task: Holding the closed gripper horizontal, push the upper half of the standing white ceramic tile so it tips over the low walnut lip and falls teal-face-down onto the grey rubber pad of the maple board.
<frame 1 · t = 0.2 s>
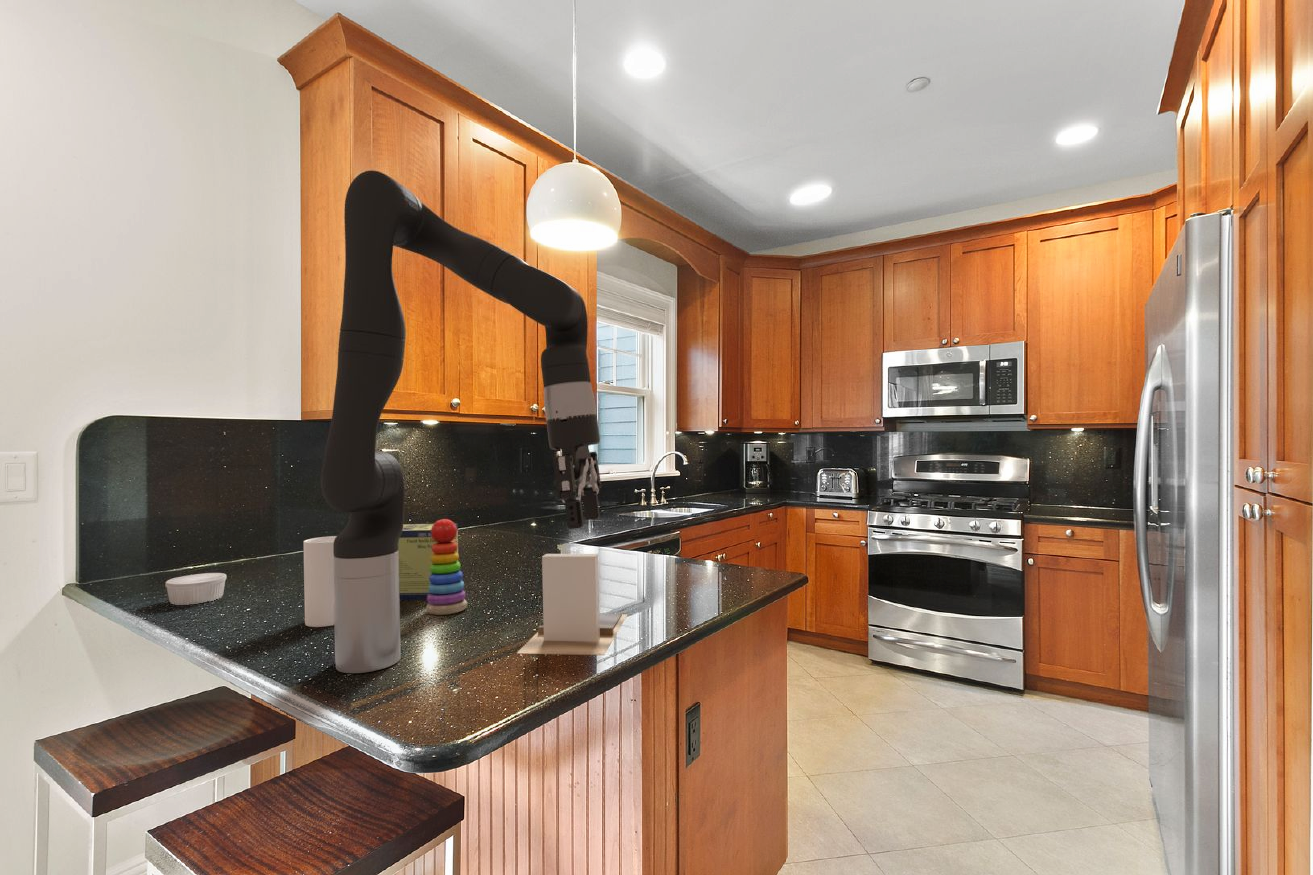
hand: (584, 523, 91), 22 cm above the countertop, tool pointing down, fingers open, 8 cm apart
ramekin: (197, 602, 139), on the countertop
stacking toy: (447, 611, 125), on the countertop
tile: (572, 638, 103), point 1 cm above the countertop, touching board
board: (577, 637, 106), on the countertop
protein box: (419, 595, 140), on the countertop
cup: (329, 621, 120), on the countertop
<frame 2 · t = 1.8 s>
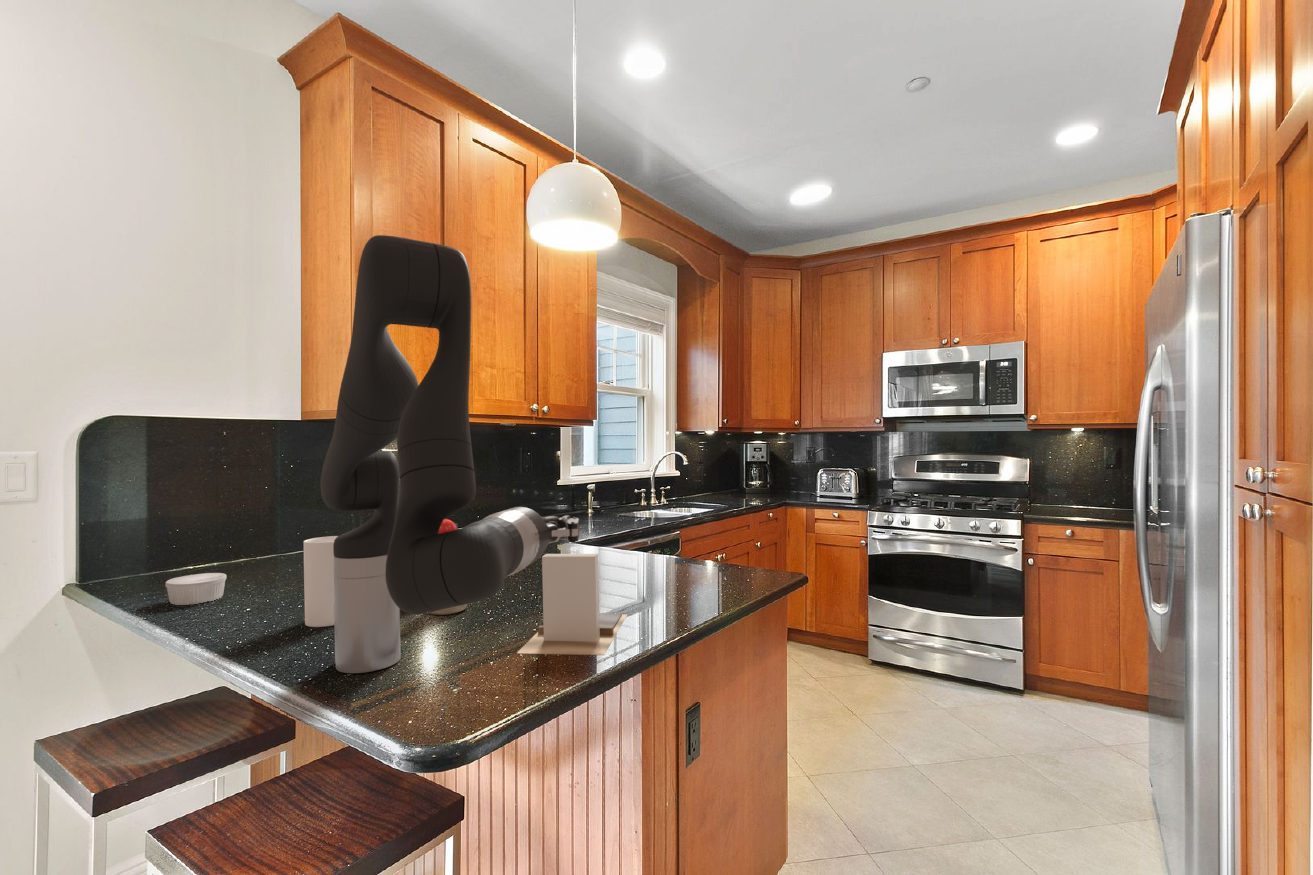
hand: (548, 522, 91), 22 cm above the countertop, tool horizontal, fingers open, 5 cm apart
nothing on the countertop moved.
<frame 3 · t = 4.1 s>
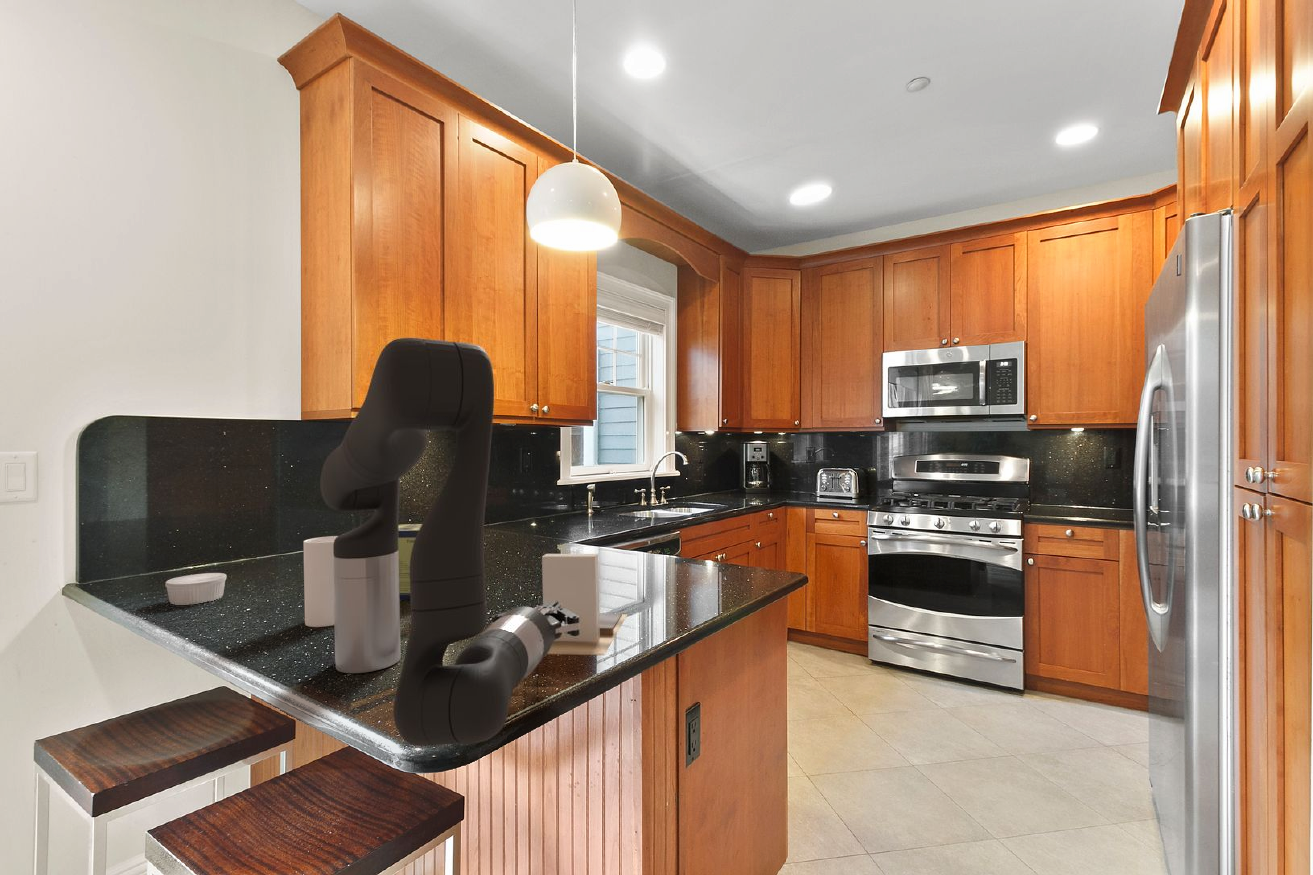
hand: (553, 607, 92), 9 cm above the countertop, tool horizontal, fingers closed
nothing on the countertop moved.
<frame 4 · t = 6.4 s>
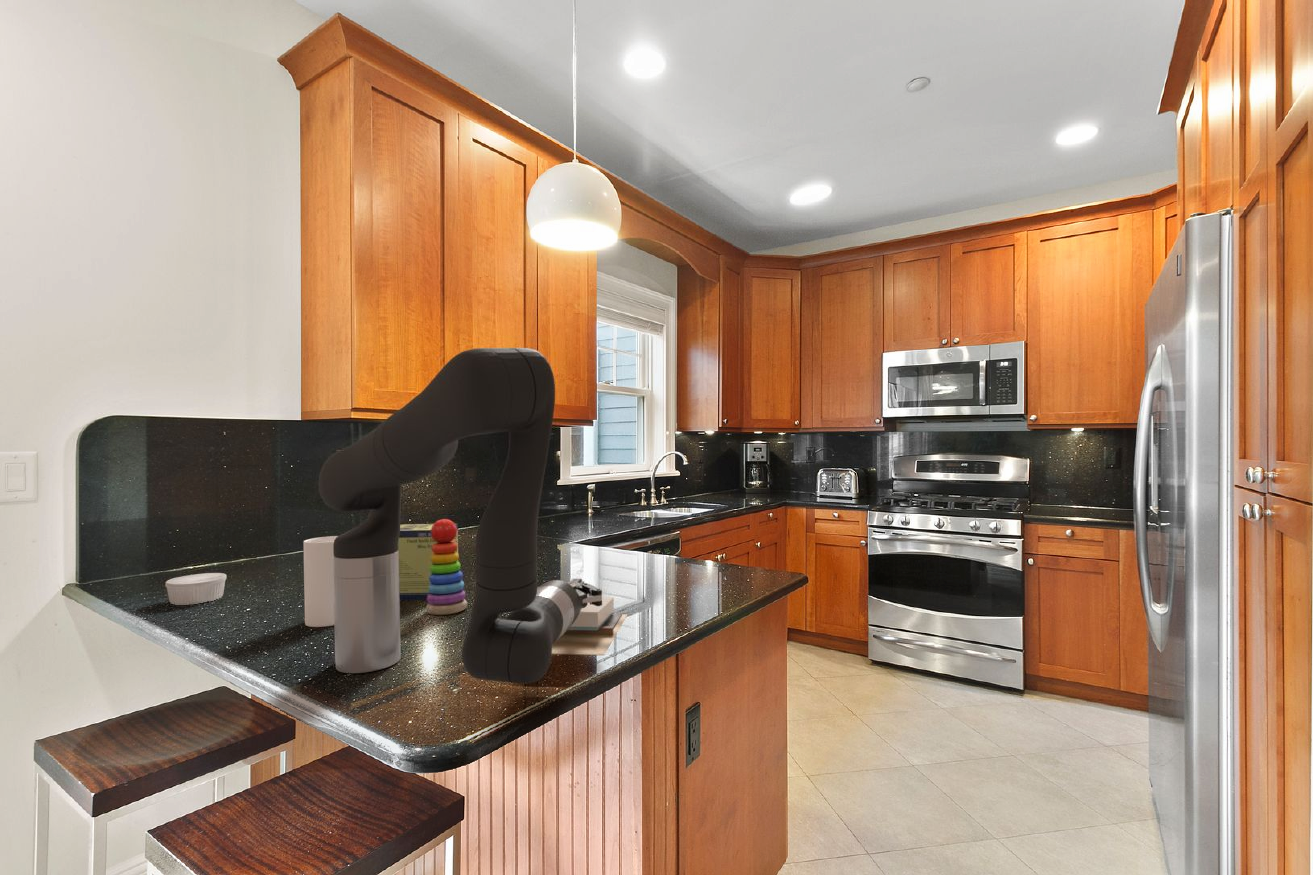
hand: (577, 584, 107), 9 cm above the countertop, tool horizontal, fingers closed
tile: (571, 621, 102), point 4 cm above the countertop, tilted 95°, touching board
everything else where it was.
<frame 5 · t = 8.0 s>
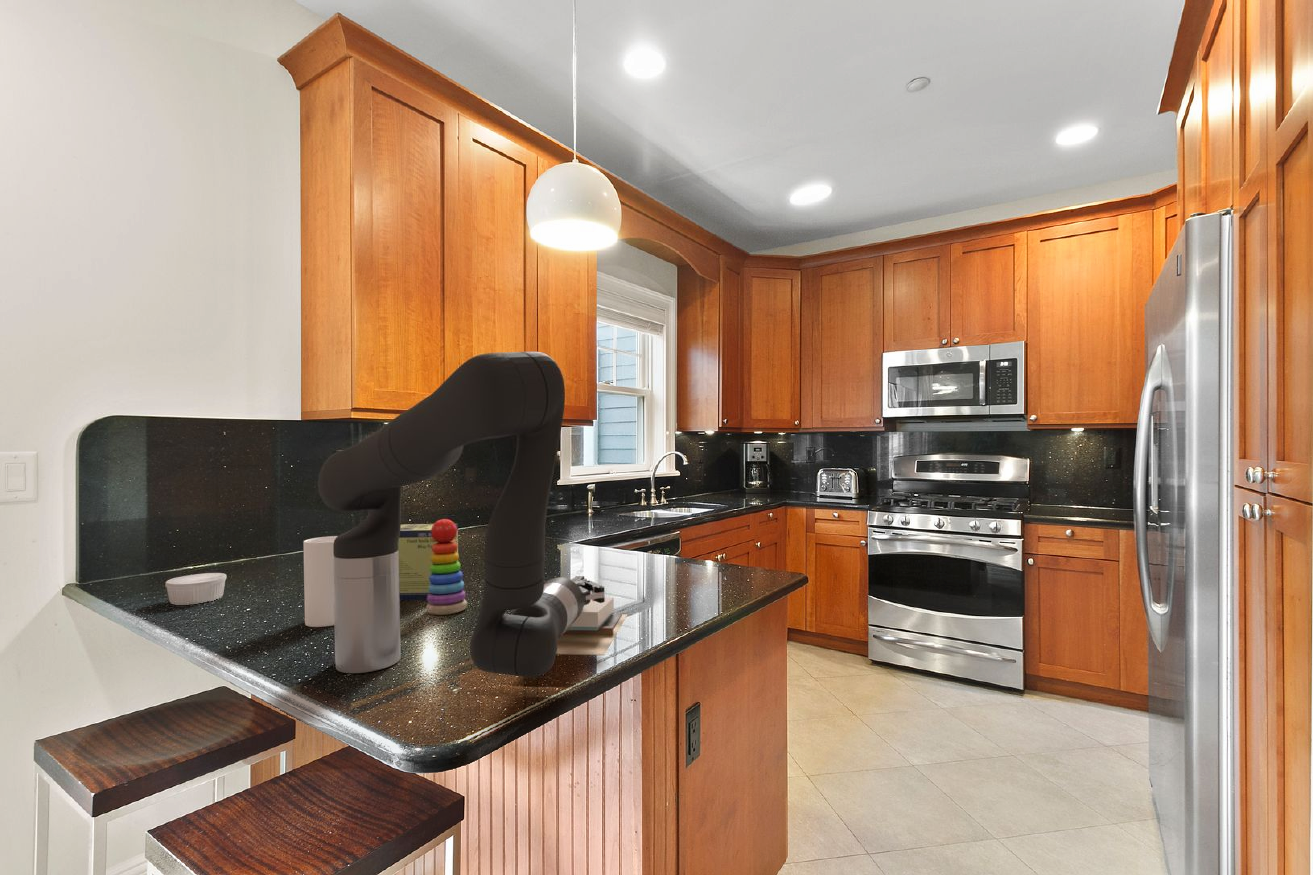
hand: (580, 581, 109), 9 cm above the countertop, tool horizontal, fingers closed
nothing on the countertop moved.
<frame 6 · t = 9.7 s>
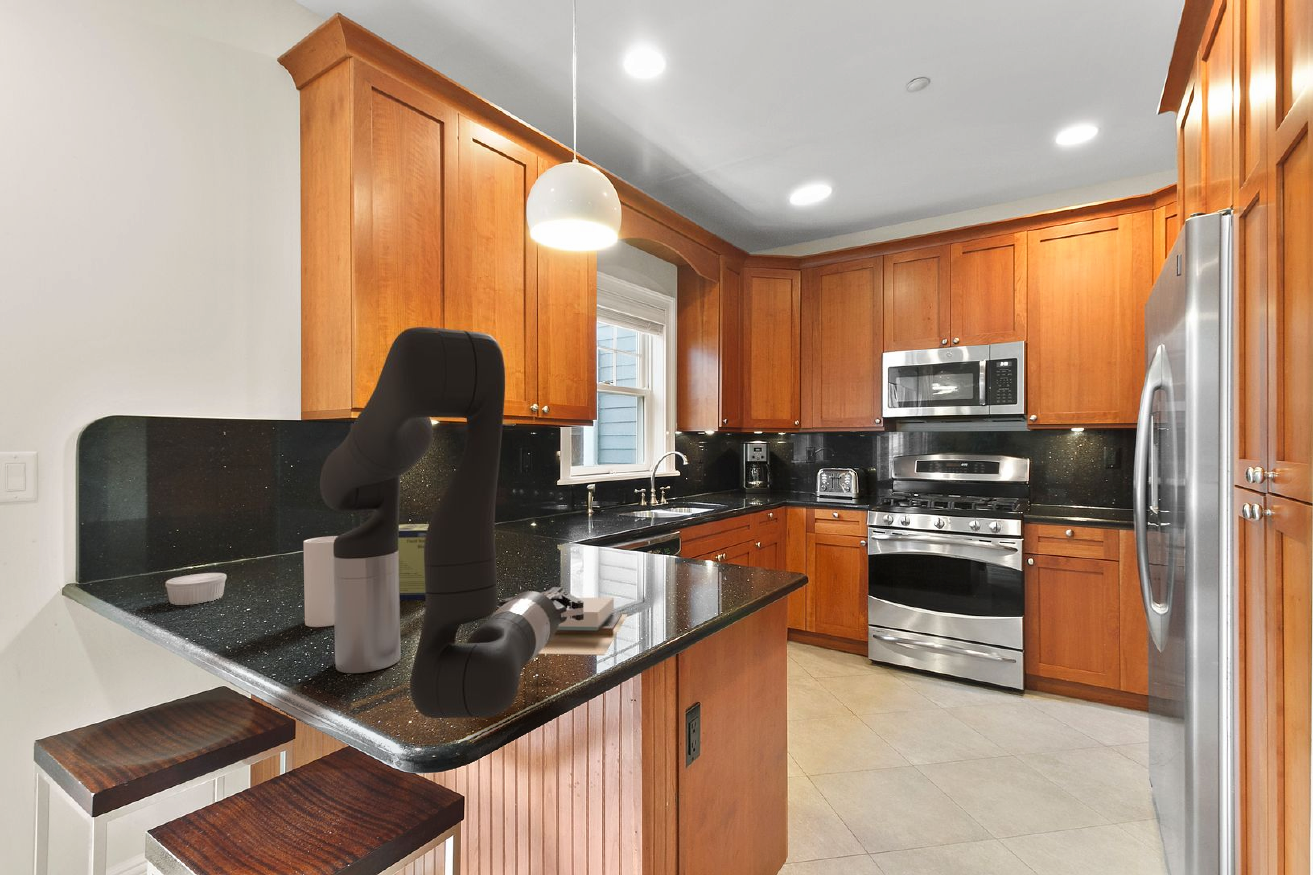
hand: (558, 593, 95), 10 cm above the countertop, tool horizontal, fingers closed
nothing on the countertop moved.
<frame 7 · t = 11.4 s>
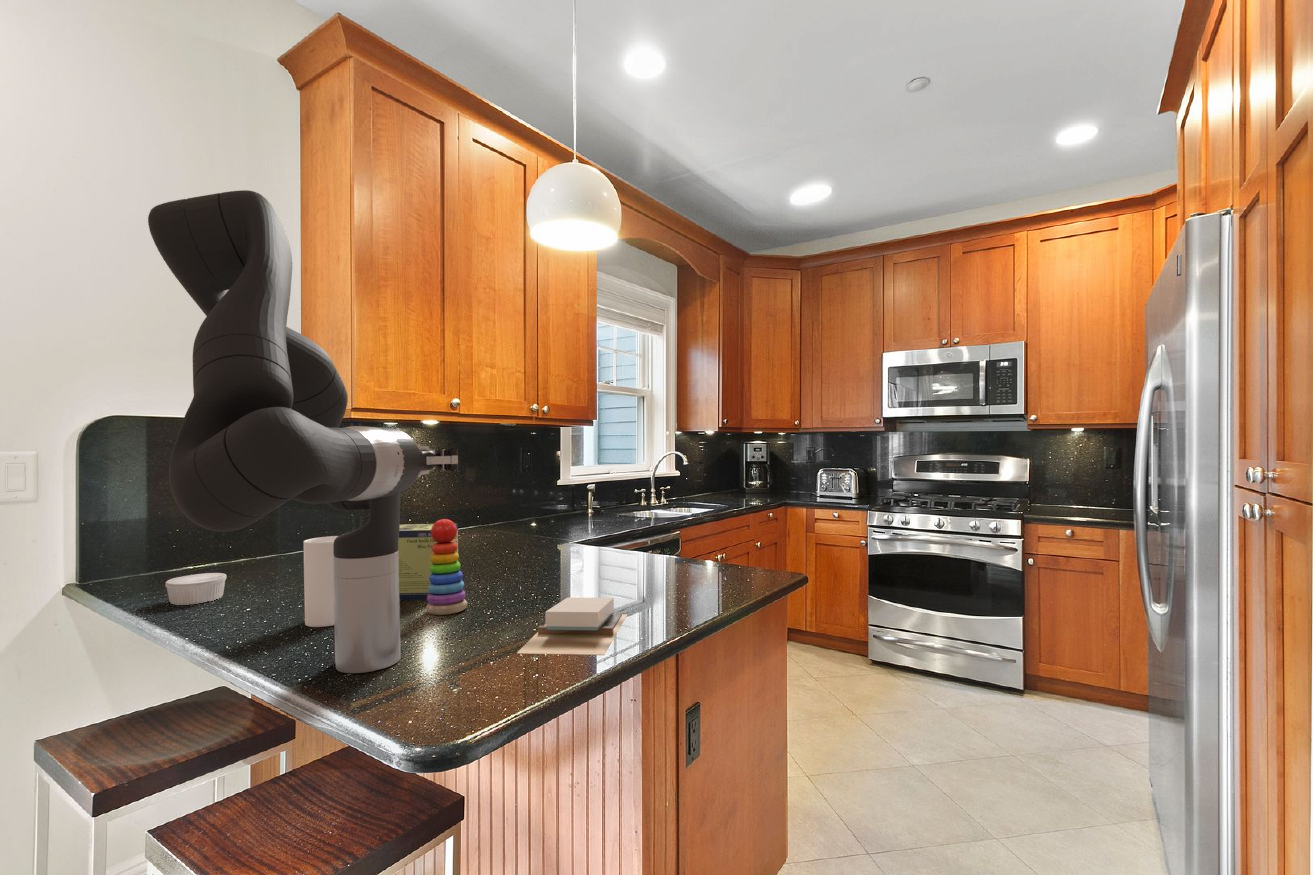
hand: (438, 459, 81), 32 cm above the countertop, tool horizontal, fingers closed
nothing on the countertop moved.
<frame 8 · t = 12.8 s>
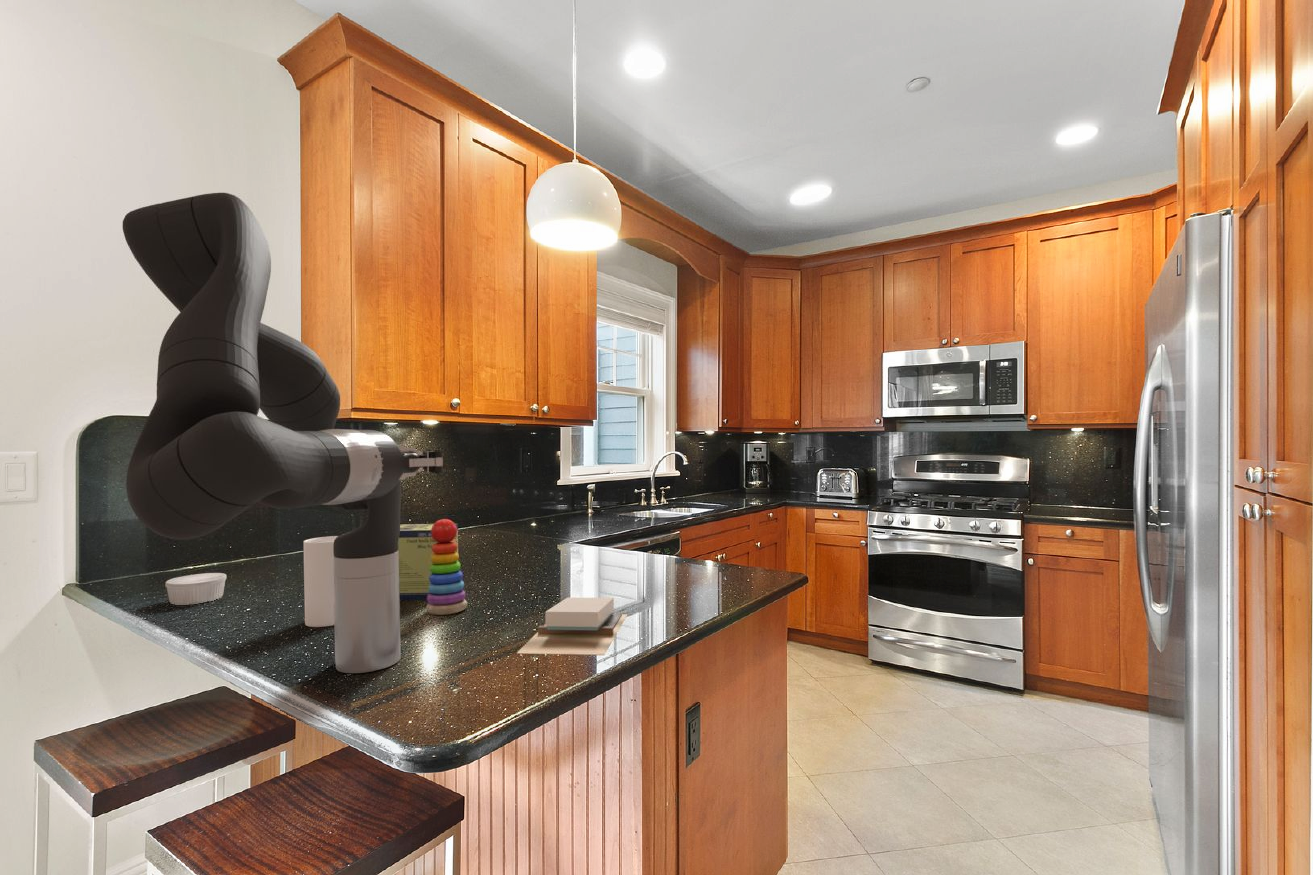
hand: (428, 460, 80), 32 cm above the countertop, tool horizontal, fingers closed
nothing on the countertop moved.
at the end: tile tilted 95°; tile 3.8 cm from the board (horizontally); tile point 4.0 cm above the countertop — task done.
